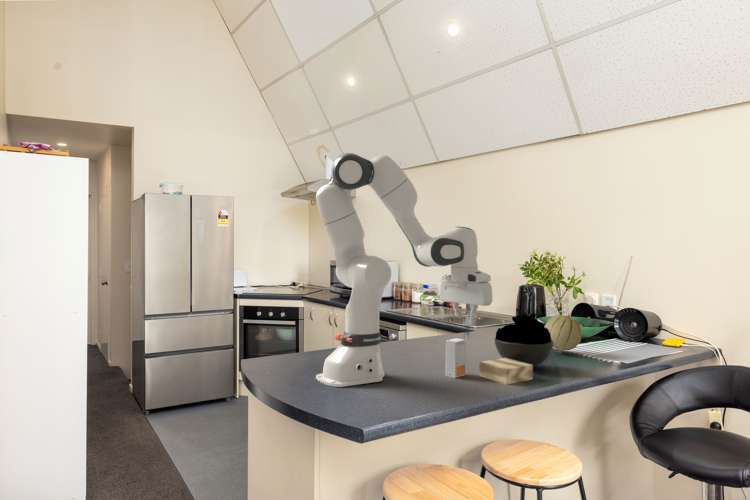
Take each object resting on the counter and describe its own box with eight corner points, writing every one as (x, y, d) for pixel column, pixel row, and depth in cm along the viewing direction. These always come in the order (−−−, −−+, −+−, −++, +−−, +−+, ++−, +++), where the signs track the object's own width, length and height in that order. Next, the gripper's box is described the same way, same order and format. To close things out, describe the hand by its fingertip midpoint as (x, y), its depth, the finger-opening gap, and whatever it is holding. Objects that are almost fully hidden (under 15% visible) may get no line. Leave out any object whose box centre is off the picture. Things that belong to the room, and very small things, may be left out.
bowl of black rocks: (513, 376, 160) (513, 319, 160) (484, 362, 180) (484, 312, 180) (565, 372, 166) (565, 317, 166) (531, 359, 185) (531, 310, 185)
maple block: (506, 385, 151) (506, 369, 151) (479, 376, 161) (479, 361, 161) (532, 380, 157) (532, 364, 157) (505, 372, 167) (505, 357, 167)
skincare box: (455, 378, 158) (455, 342, 158) (444, 376, 161) (444, 340, 161) (466, 375, 162) (466, 339, 162) (455, 373, 165) (455, 337, 165)
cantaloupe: (536, 348, 205) (536, 313, 205) (562, 345, 211) (562, 311, 211) (563, 355, 192) (563, 317, 192) (589, 351, 198) (589, 315, 198)
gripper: (435, 274, 167) (435, 314, 167) (482, 277, 151) (483, 321, 151) (447, 274, 171) (448, 313, 171) (495, 276, 155) (495, 319, 155)
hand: (464, 317), depth 161 cm, fingers open, 4 cm apart
